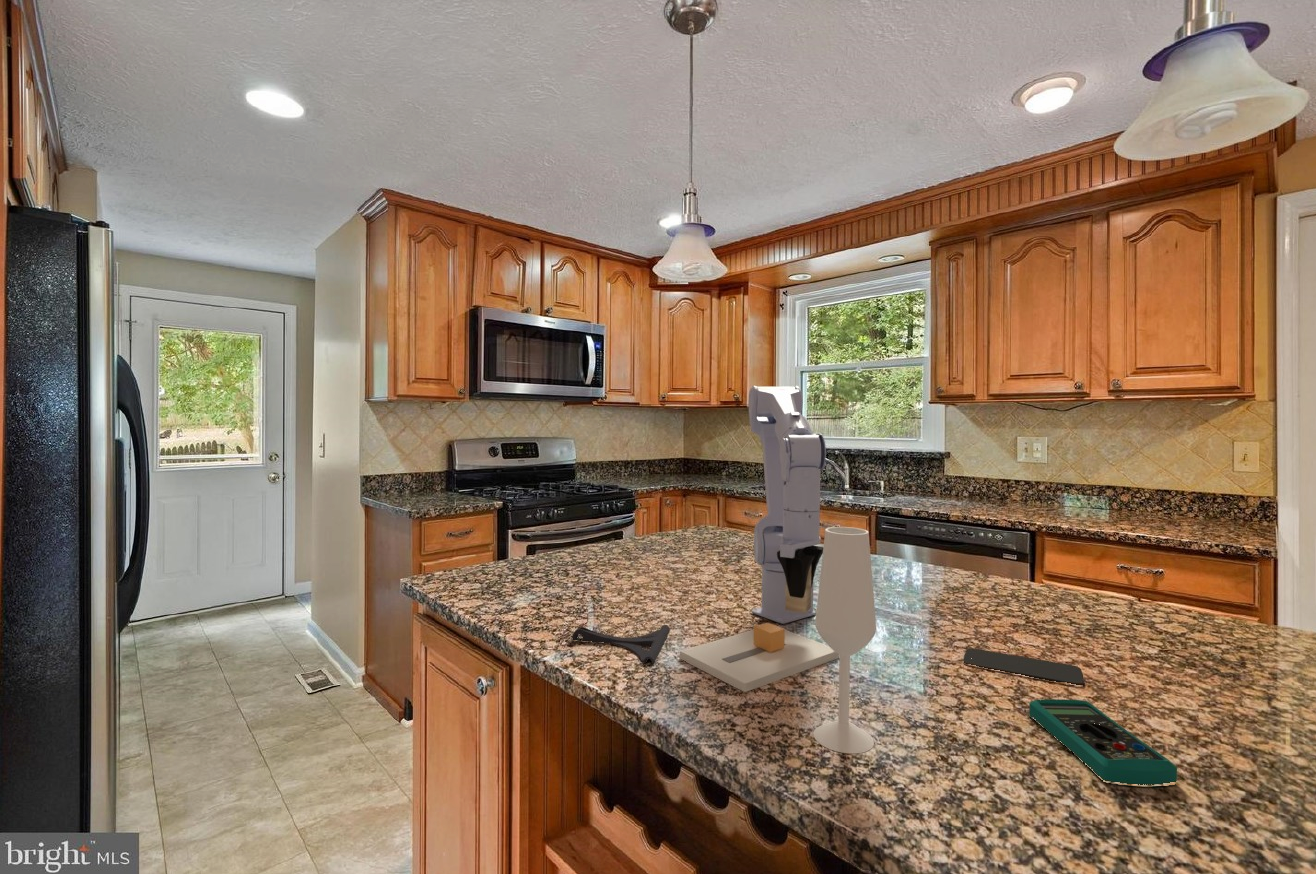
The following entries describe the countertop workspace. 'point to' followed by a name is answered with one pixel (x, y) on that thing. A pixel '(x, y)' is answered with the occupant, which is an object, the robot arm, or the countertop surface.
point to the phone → (1024, 666)
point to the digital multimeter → (1102, 742)
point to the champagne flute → (845, 624)
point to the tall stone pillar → (799, 603)
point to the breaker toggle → (769, 637)
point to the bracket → (630, 641)
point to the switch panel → (756, 659)
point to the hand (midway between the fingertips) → (800, 593)
